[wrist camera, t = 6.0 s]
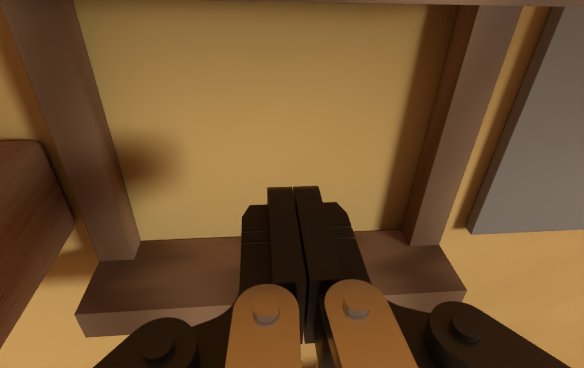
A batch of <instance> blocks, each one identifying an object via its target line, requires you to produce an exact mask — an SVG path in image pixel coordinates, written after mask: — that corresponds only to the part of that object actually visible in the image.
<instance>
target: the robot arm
mask: <svg viewBox="0 0 584 368" xmlns="http://www.w3.org/2000/svg"><path fill="white" fill-rule="evenodd" d="M303 333H304V341H305V344H307V343H315V346H316V353H317V367H316V368H570V367H569V366H567V365H566V364H564V363H563V362H561V361H559V360H558V359H556V358H555V357H553V356H552V355H550V354H548V353H547V352H545V351H544V350H542V349H541V348H539V347H537V346H536V345H534V344H533V343H531V342H530V341H528V340H526V339H525V338H523V337H522V336H520V335H518V334H517V333H515V332H514V331H512V330H511V329H509V328H507V327H506V326H504V325H503V324H501V323H500V322H498V321H496V320H495V319H493V318H492V317H490V316H489V315H487V314H485V313H484V312H482V311H481V310H479V309H477V308H475V307H474V306H471V305H469V304H466V303H463V302H458V301H447V302H443V303H440V304H438V305H437V306H436V307H434V309H433V310H432V312H431V313H428V312H423V311H419V310H415V309H410V308H406V307H402V306H399V305H396V304H394V303H392V302H390V301H388V300H387V299H386V298H385V296H384V295H383V293H382V292H381V291H380V290H379V289H377V288H376V287H375V286H373V285H372V283H371V281H370V278H369V276H368V273H367V270H366V267H365V264H364V261H363V258H362V255H361V252H360V249H359V247H358V244H357V241H356V239H355V235H354V232H353V229H352V228H351V223H350V221H349V218H348V215H347V213H346V212H345V211H344V210H343V209H342V208H341V207H340V206H339V205H338V204H337V203H336V202H326V203H323V202H322V198H321V195H320V191H319V187H318V186H300V187H293V191H292V187H270V188H267V205H250V206H249V207H248V209H247V210H246V212H245V213H244V215H243V216H242V233H241V258H240V285H239V293H238V296H237V298H236V300H235V302H234V303H233V304H232V306H231V307H230V308H229V309H228V310H227V311H225V312H224V313H223V314H221V315H220V316H218V317H216V318H214V319H211V320H209V321H206V322H203V323H200V324H198V325H195V326H192V327H191V326H190V325H189V324H188V323H187V322H185V321H183V320H181V319H178V318H173V317H164V318H158V319H155V320H152V321H150V322H147V323H145V324H144V325H142V326H140V327H139V328H138V329H136V330H135V331H134V332H133V333H132V334H131V335H129V336H128V337H127V338H126V339H125V340H124V341H123V342H122V343H120V344H119V345H118V346H117V347H116V348H115V349H114V350H112V351H111V352H110V353H109V354H108V355H107V356H106V357H104V358H103V359H102V360H101V361H100V362H99V363H98V364H97V365H95V366H94V367H93V368H301V348H300V344H302V341H303Z"/></svg>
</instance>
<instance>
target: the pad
mask: <svg viewBox="0 0 584 368" xmlns="http://www.w3.org/2000/svg"><path fill="white" fill-rule="evenodd" d="M465 227H466V229H467V230H468V231H469V233H470V234H471V235H474V234H496V233H518V232H539V231H561V230H582V229H584V7H556V6H552V9H551V11H550V14H549V16H548V19H547V21H546V24H545V26H544V29H543V31H542V34H541V36H540V39H539V41H538V44H537V47H536V49H535V52H534V54H533V57H532V59H531V62H530V64H529V67H528V69H527V72H526V74H525V77H524V79H523V82H522V85H521V87H520V90H519V92H518V95H517V97H516V100H515V102H514V105H513V107H512V110H511V112H510V115H509V117H508V120H507V123H506V125H505V128H504V130H503V133H502V135H501V138H500V140H499V143H498V145H497V148H496V150H495V153H494V155H493V158H492V161H491V163H490V166H489V168H488V171H487V173H486V176H485V178H484V181H483V183H482V186H481V188H480V191H479V193H478V196H477V199H476V201H475V204H474V206H473V209H472V211H471V214H470V216H469V219H468V221H467V224H466V226H465Z"/></svg>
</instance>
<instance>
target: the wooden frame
mask: <svg viewBox="0 0 584 368" xmlns="http://www.w3.org/2000/svg"><path fill="white" fill-rule="evenodd" d="M228 1H283V2H337V3H392V4H447V5H460V8H459V12H458V16H457V20H456V23H455V27H454V31H453V35H452V39H451V42H450V46H449V50H448V54H447V58H446V61H445V65H444V69H443V73H442V76H441V80H440V84H439V88H438V92H437V95H436V99H435V103H434V107H433V111H432V114H431V118H430V122H429V126H428V130H427V133H426V137H425V141H424V145H423V148H422V152H421V156H420V160H419V164H418V167H417V171H416V175H415V179H414V183H413V186H412V190H411V194H410V198H409V202H408V205H407V209H406V213H405V217H404V221H403V224H402V228H401V230H385V231H362V232H354V235H355V239H356V241H357V244H358V247H359V249H360V252H361V255H362V258H363V261H364V264H365V267H366V270H367V273H368V276H369V278H370V281H371V283H372V285H373V286H375V287H376V288H377V289H379V290H380V291H381V292H382V293H383V295H384V296H385V298H386V299H387V300H388V301H390V302H392V303H394V304H396V305H399V306H402V307H406V308H410V309H415V310H419V311H423V312H428V313H431V312H432V310H433V309H434V307H436V306H437V305H438V304H440V303H443V302H447V301H458V302H462V300H463V298H464V296H465V294H466V292H467V289H466V288H465V286H464V284H463V283H462V281H461V280H460V278H459V276H458V275H457V273H456V272H455V270H454V268H453V267H452V265H451V263H450V262H449V260H448V259H447V257H446V255H445V254H444V252H443V251H442V249H441V247H440V246H439V243H440V240H441V237H442V234H443V232H444V229H445V226H446V223H447V220H448V217H449V215H450V212H451V209H452V206H453V203H454V200H455V198H456V195H457V192H458V189H459V186H460V183H461V181H462V178H463V175H464V172H465V169H466V166H467V164H468V161H469V158H470V155H471V152H472V149H473V147H474V144H475V141H476V138H477V135H478V132H479V130H480V127H481V124H482V121H483V118H484V115H485V113H486V110H487V107H488V104H489V101H490V98H491V96H492V93H493V90H494V87H495V84H496V81H497V79H498V76H499V73H500V70H501V67H502V64H503V62H504V59H505V56H506V53H507V50H508V47H509V45H510V42H511V39H512V36H513V33H514V30H515V28H516V25H517V22H518V19H519V16H520V13H521V11H522V8H523V6H556V7H584V0H228ZM0 5H1V8H2V10H3V13H4V15H5V18H6V21H7V23H8V26H9V28H10V31H11V34H12V36H13V39H14V41H15V44H16V46H17V49H18V52H19V54H20V57H21V59H22V62H23V65H24V67H25V70H26V72H27V75H28V78H29V80H30V83H31V85H32V88H33V90H34V93H35V96H36V98H37V101H38V103H39V106H40V109H41V111H42V114H43V116H44V119H45V122H46V124H47V127H48V129H49V132H50V134H51V137H52V140H53V142H54V145H55V147H56V150H57V153H58V155H59V158H60V160H61V163H62V165H63V168H64V171H65V173H66V176H67V178H68V181H69V184H70V186H71V189H72V191H73V194H74V197H75V199H76V202H77V204H78V207H79V209H80V212H81V215H82V217H83V220H84V222H85V225H86V228H87V230H88V233H89V235H90V238H91V241H92V243H93V246H94V248H95V251H96V253H97V256H98V259H99V263H98V266H97V268H96V270H95V272H94V274H93V276H92V278H91V280H90V283H89V285H88V287H87V289H86V291H85V293H84V295H83V298H82V300H81V302H80V304H79V306H78V308H77V310H76V312H75V317H76V319H77V321H78V323H79V325H80V327H81V329H82V331H83V333H84V335H85V337H101V336H116V335H130V334H132V333H133V332H134V331H135V330H136V329H138V328H139V327H140V326H142V325H144V324H145V323H147V322H150V321H152V320H155V319H158V318H164V317H173V318H178V319H181V320H183V321H185V322H187V323H188V324H189V325H190V326H191V327H192V326H195V325H198V324H200V323H203V322H206V321H209V320H211V319H214V318H216V317H218V316H220V315H221V314H223V313H224V312H225V311H227V310H228V309H229V308H230V307H231V306H232V304H233V303H234V302H235V300H236V298H237V296H238V293H239V285H240V258H241V237H226V238H203V239H181V240H158V241H140V237H139V234H138V230H137V227H136V223H135V219H134V216H133V212H132V209H131V205H130V202H129V198H128V195H127V191H126V188H125V184H124V181H123V177H122V173H121V170H120V166H119V163H118V159H117V156H116V152H115V149H114V145H113V142H112V138H111V135H110V131H109V128H108V124H107V120H106V117H105V113H104V110H103V106H102V103H101V99H100V96H99V92H98V89H97V85H96V82H95V78H94V74H93V71H92V67H91V64H90V60H89V57H88V53H87V50H86V46H85V43H84V39H83V36H82V32H81V28H80V25H79V21H78V18H77V14H76V11H75V7H74V4H73V0H0Z"/></svg>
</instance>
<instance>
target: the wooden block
mask: <svg viewBox="0 0 584 368" xmlns="http://www.w3.org/2000/svg"><path fill="white" fill-rule="evenodd" d="M73 229H74V218H73V216H72V213H71V211H70V209H69V206H68V204H67V202H66V200H65V197H64V195H63V193H62V190H61V188H60V186H59V183H58V181H57V179H56V176H55V174H54V172H53V169H52V167H51V165H50V163H49V160H48V158H47V156H46V153H45V151H44V149H43V147H42V145H41V144H40V143H39V142H36V141H32V140H30V141H1V142H0V349H1V347H2V345H3V344H4V342H5V340H6V339H7V337H8V336H9V334H10V332H11V331H12V329H13V327H14V326H15V324H16V322H17V321H18V319H19V318H20V316H21V314H22V313H23V311H24V309H25V308H26V306H27V304H28V303H29V301H30V300H31V298H32V296H33V295H34V293H35V291H36V290H37V288H38V286H39V285H40V283H41V282H42V280H43V278H44V277H45V275H46V273H47V272H48V270H49V268H50V267H51V265H52V263H53V262H54V260H55V259H56V257H57V255H58V254H59V252H60V250H61V249H62V247H63V245H64V244H65V242H66V240H67V239H68V237H69V236H70V234H71V232H72V231H73Z"/></svg>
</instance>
